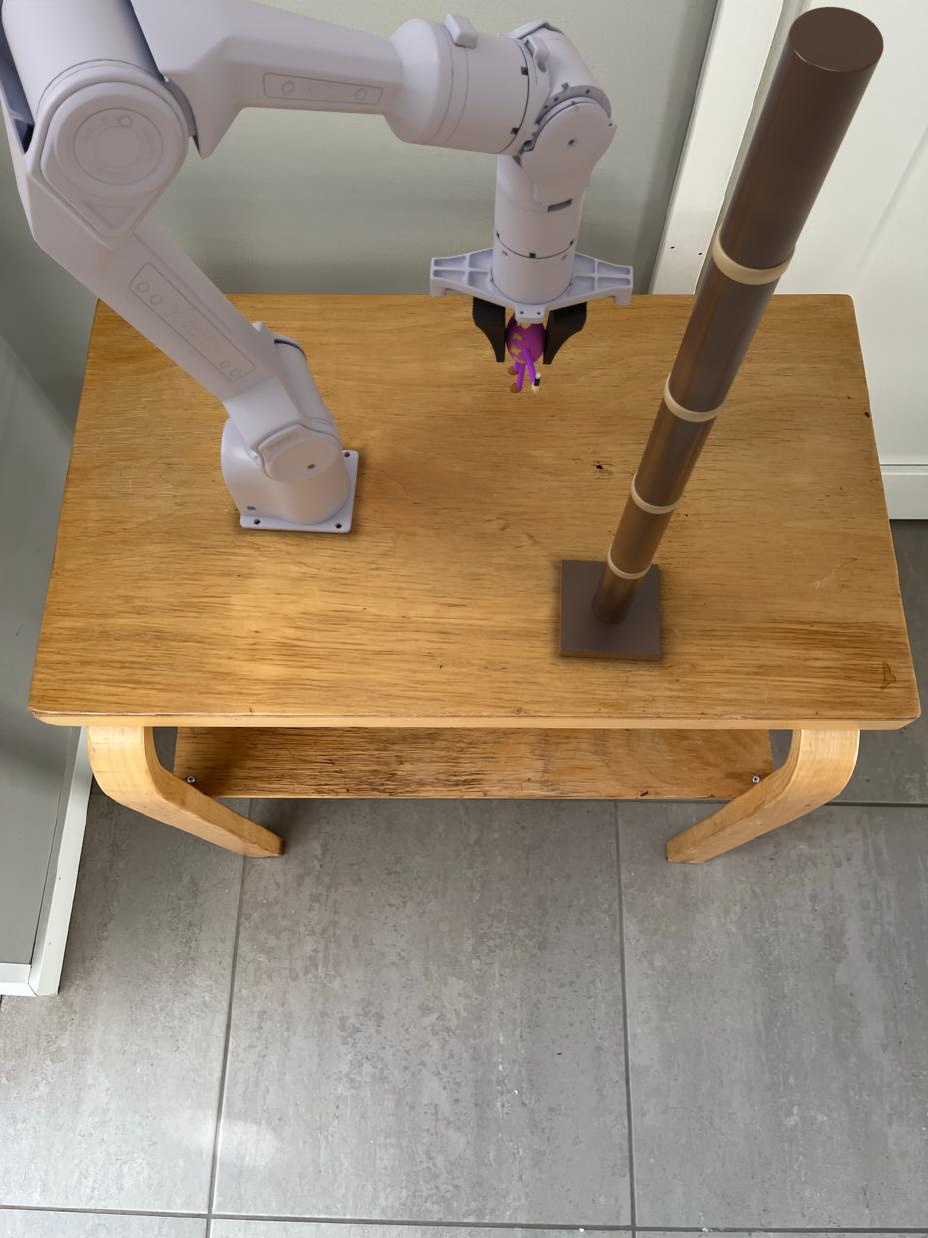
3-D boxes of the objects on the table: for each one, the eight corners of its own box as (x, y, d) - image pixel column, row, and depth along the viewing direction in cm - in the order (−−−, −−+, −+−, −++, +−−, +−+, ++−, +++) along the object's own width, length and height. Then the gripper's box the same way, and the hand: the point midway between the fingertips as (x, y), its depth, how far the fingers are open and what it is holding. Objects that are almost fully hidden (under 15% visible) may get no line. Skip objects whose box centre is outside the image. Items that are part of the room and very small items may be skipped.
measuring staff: (558, 656, 74) (716, 125, 28) (560, 566, 77) (705, -51, 31) (657, 661, 74) (982, 136, 28) (655, 571, 77) (947, -43, 30)
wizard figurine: (491, 330, 80) (497, 225, 68) (527, 325, 80) (539, 220, 69) (513, 440, 76) (523, 347, 64) (551, 435, 76) (568, 342, 65)
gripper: (424, 267, 60) (431, 390, 73) (645, 277, 60) (613, 399, 72) (431, 186, 63) (436, 318, 75) (643, 195, 62) (613, 326, 75)
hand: (523, 353), depth 74 cm, fingers closed on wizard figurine, 3 cm apart
